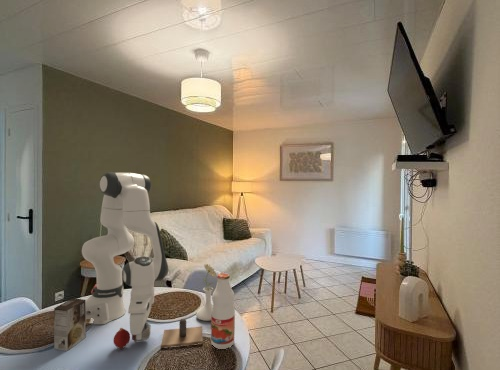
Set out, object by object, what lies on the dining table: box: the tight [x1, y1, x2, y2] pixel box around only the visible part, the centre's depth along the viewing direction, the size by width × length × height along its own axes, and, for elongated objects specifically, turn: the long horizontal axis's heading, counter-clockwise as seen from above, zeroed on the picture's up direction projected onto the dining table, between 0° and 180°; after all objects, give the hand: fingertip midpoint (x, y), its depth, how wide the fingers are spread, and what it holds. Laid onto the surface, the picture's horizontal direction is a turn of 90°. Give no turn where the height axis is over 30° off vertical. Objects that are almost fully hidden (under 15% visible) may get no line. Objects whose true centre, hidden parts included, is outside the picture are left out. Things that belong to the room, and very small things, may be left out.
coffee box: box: [53, 297, 87, 352], centre depth 106 cm, size 9×6×16 cm
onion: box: [113, 327, 131, 349], centre depth 104 cm, size 6×6×8 cm
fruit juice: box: [210, 272, 236, 350], centre depth 108 cm, size 9×9×28 cm
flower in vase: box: [195, 263, 217, 322], centre depth 129 cm, size 13×11×25 cm
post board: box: [160, 318, 204, 349], centre depth 110 cm, size 16×11×9 cm
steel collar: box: [131, 322, 151, 343], centre depth 107 cm, size 6×6×4 cm
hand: (141, 332), depth 107 cm, fingers closed on steel collar, 6 cm apart
